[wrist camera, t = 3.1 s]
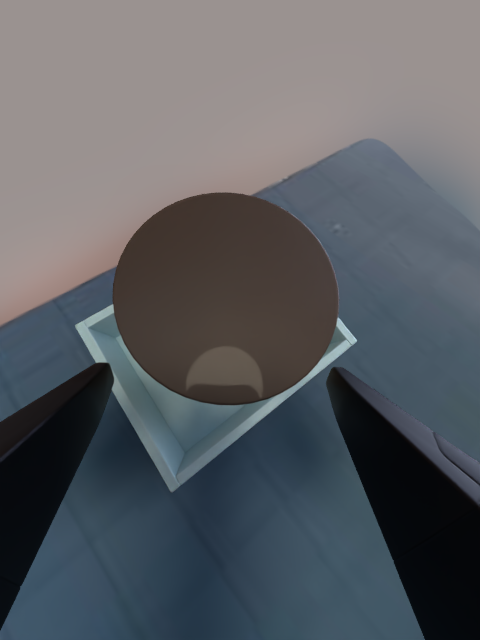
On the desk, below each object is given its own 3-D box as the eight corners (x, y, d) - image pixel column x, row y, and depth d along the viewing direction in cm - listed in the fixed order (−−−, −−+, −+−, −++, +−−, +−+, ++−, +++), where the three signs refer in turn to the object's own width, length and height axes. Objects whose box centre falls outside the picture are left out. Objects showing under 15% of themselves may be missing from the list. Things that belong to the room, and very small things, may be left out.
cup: (239, 401, 17) (285, 455, 6) (163, 359, 18) (56, 327, 6) (276, 326, 19) (368, 251, 8) (207, 289, 20) (192, 160, 8)
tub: (183, 462, 16) (171, 493, 12) (108, 337, 18) (73, 325, 14) (327, 348, 20) (357, 341, 16) (252, 251, 22) (261, 220, 17)
